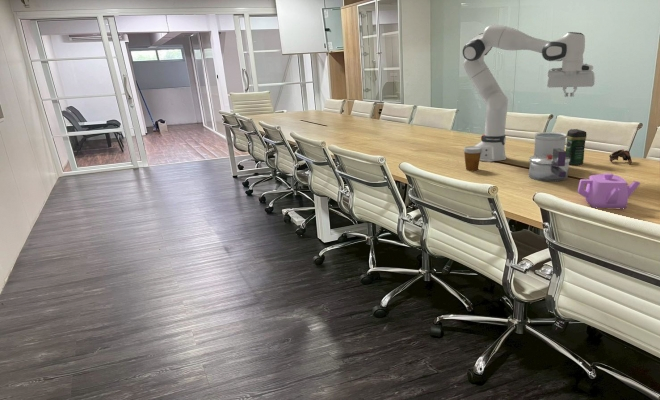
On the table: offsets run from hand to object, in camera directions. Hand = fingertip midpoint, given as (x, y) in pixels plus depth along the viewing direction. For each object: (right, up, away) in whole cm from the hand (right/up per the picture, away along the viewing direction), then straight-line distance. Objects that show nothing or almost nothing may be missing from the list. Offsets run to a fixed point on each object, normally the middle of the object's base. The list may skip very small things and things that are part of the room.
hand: (569, 96), depth 211 cm
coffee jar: (+14, -32, +21) cm, 40 cm away
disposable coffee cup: (-41, -35, +23) cm, 58 cm away
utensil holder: (-2, -34, +17) cm, 38 cm away
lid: (-12, -33, -7) cm, 36 cm away
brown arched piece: (+37, -32, +16) cm, 51 cm away
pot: (-11, -41, -3) cm, 43 cm away
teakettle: (-9, -53, -42) cm, 69 cm away
